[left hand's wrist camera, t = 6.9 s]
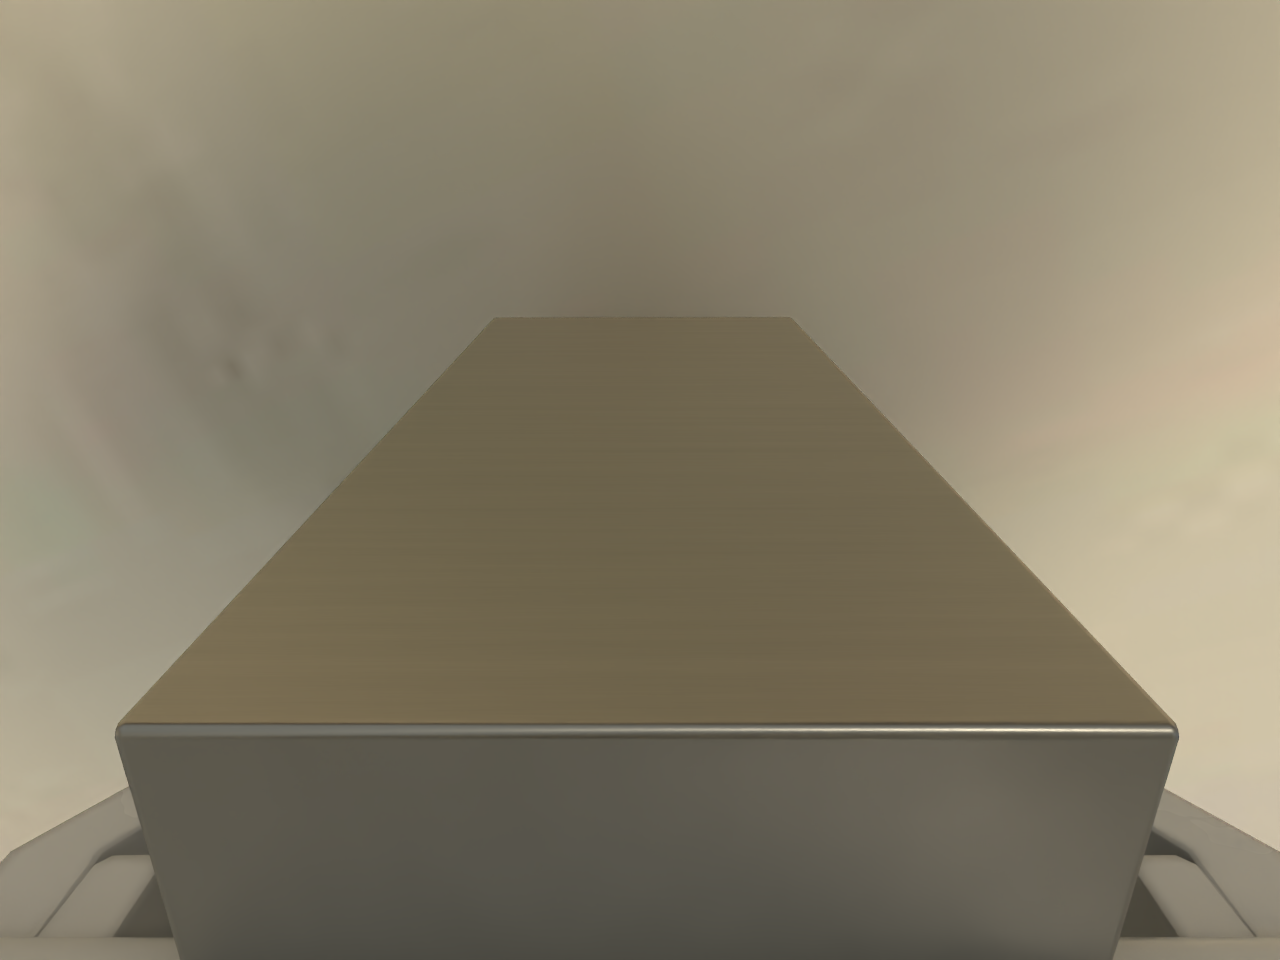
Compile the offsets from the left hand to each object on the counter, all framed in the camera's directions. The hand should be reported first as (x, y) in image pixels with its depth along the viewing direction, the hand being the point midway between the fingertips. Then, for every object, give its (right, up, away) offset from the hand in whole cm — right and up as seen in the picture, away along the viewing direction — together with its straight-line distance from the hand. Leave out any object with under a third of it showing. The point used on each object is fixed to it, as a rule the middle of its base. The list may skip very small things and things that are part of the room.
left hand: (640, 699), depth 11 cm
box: (0, -4, +9) cm, 10 cm away
